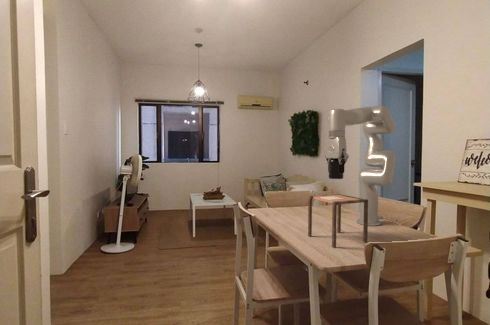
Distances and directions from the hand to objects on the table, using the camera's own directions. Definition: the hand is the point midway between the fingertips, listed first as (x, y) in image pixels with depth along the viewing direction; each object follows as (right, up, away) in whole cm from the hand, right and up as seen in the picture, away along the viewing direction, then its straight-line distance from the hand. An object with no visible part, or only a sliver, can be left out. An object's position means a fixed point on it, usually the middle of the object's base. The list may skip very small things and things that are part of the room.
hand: (335, 172), depth 142 cm
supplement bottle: (0, -3, 0) cm, 3 cm away
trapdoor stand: (-1, -31, -4) cm, 32 cm away
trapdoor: (-1, -13, -5) cm, 14 cm away
